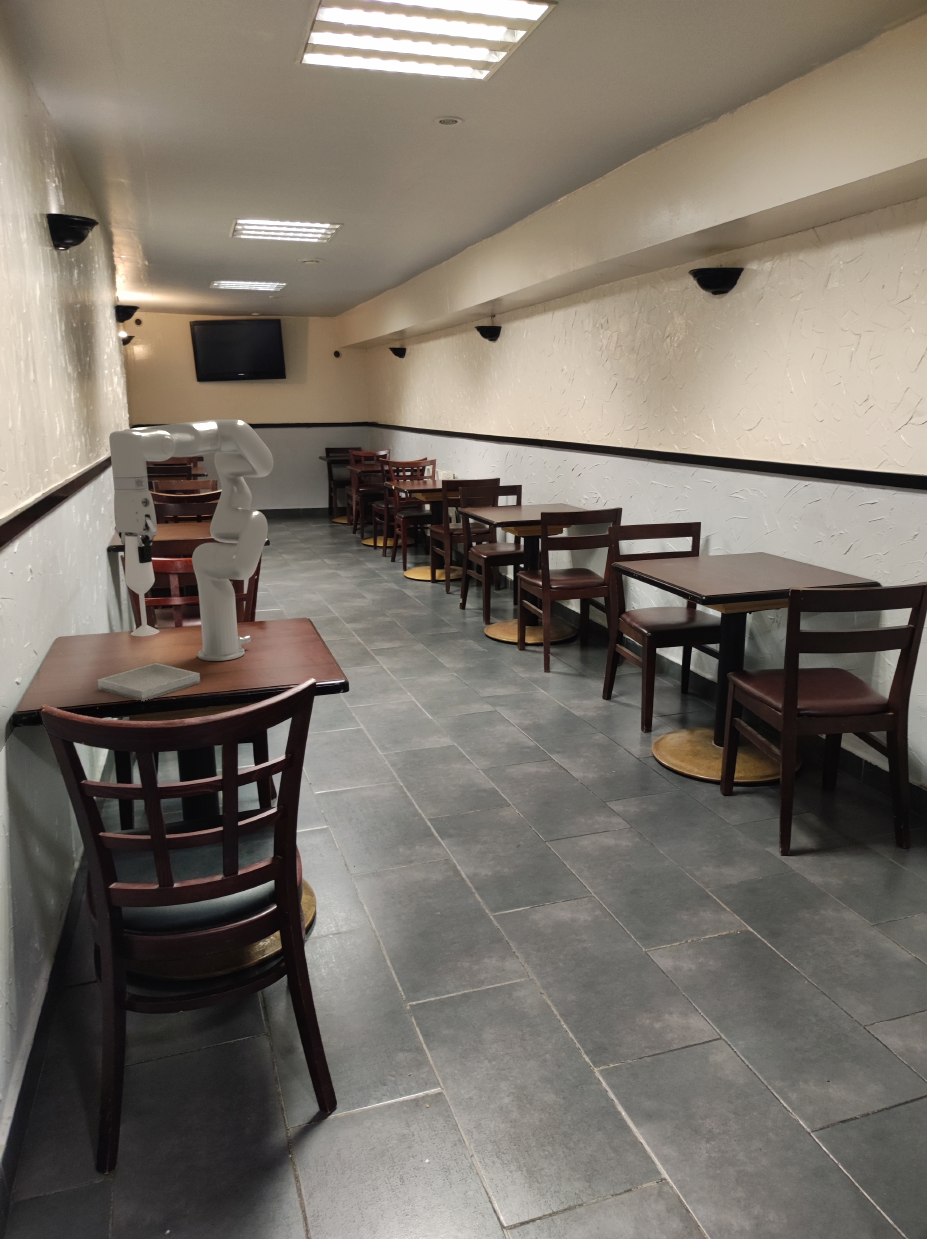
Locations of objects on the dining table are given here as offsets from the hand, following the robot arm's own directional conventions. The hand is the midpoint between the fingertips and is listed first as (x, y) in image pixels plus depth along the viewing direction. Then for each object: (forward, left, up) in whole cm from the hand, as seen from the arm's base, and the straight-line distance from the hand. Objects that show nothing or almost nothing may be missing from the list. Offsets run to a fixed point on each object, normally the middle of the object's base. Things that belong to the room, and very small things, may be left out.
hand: (138, 560), depth 203 cm
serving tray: (0, 0, -32) cm, 32 cm away
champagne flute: (0, 0, -18) cm, 18 cm away
